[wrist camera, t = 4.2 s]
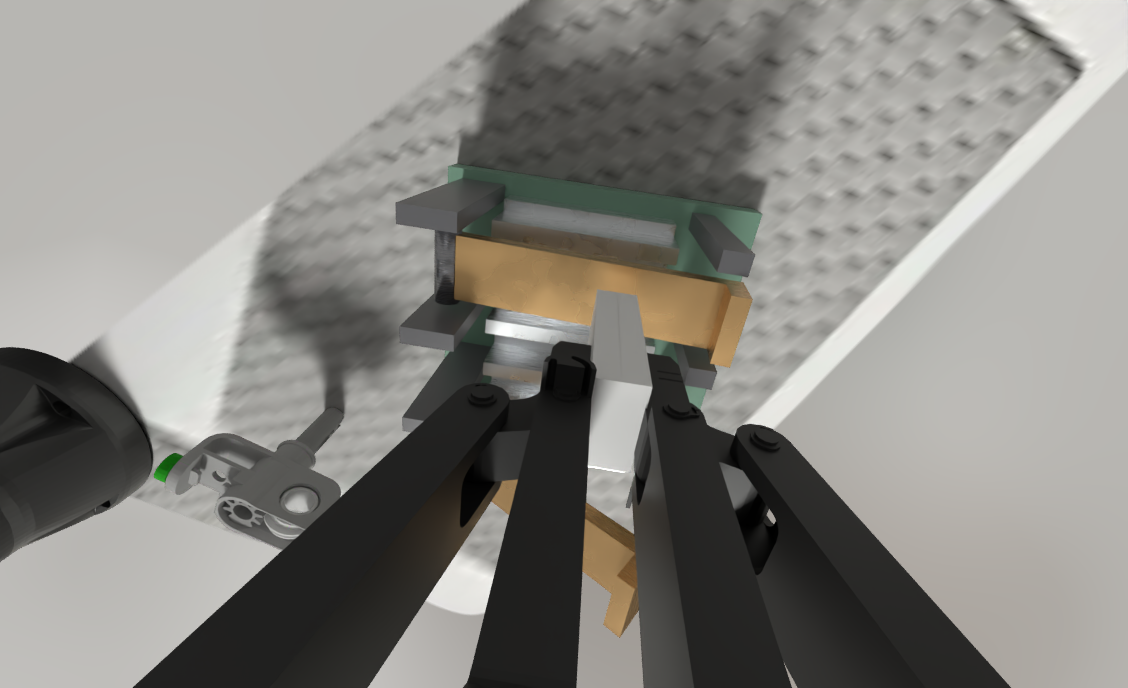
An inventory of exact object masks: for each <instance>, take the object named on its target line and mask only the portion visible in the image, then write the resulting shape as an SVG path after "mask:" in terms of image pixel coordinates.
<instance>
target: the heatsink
mask: <svg viewBox="0 0 1128 688" xmlns="http://www.w3.org/2000/svg"><path fill="white" fill-rule="evenodd" d="M675 230H676V224H675V222H674V220H670V219H663V218H657V217H650V216H644V215H637V214H631V213H624V212H618V211H611V210H605V209H598V208H592V207H585V206H579V205H572V204H566V203H559V202H553V201H546V200H540V199H533V198H527V197H520V196H514V195H509V196H508V197H507V198H505V199H504V211H503V212H501V213H500V214H499V215H498V216H496V217H495V218H494V219H493V220H492V228H491V237H497V238H502V239H506V240H511V241H517V242H522V243H528V244H533V245H539V246H545V247H550V248H556V249H561V250H567V251H572V252H578V253H583V254H589V255H594V256H600V257H606V258H611V259H617V260H622V261H628V262H633V263H639V264H644V265H650V266H655V267H661V268H667V264H668V265H675V266H676V263H677V259H678V255H679V251H680V249H679V247H678V245H677V243H676V241H675V239H674V234H675ZM590 328H591V326H588V325H583V324H577V323H572V322H567V321H562V320H557V319H552V318H547V317H542V316H537V315H532V314H527V313H522V312H517V311H512V310H506V309H501V308H496V307H494V308H493V309H492V311H491V312H490V314H489V315H488V317H487V318H486V327H485V333H489V334H495V337H494V344H493V346H492V347H491V349H490V351H489V353H488V355H487V356H486V358H485V360H484V362H483V375H488V376H492V379H491V382H490V384H493V385H496V386H498V387H501V388H503V389H504V390H505V391H506V392H507V393H508V395H509V398H510V400H517V399H525V398H529V397H532V396H534V395H536V394H538V393H539V392H540V386H541V378H542V371H543V363H544V360H545V359H546V358H547V357H548V356H550V355H551V352H552V348H553V346H554V345H556V344H557V343H558V342H560V341H567V342H573V343H579V344H586V345H588V339H589V334H590ZM644 339H645V345H646V351H647V353H651V354H654V351H655V341H654V339H653V338H648V337H644ZM588 467H593V466H588ZM593 468H599V467H593ZM599 469H605V468H599ZM605 470H610V471H616V472H622V473H624V471H618V470H612V469H605Z"/></svg>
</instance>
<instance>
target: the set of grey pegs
mask: <svg viewBox="0 0 1128 688" xmlns="http://www.w3.org/2000/svg"><path fill="white" fill-rule="evenodd" d="M505 186H506V185H505V184H498V183H492V182H485V181H479V180H472V179H466V178H461V179H458V180H456V181H453V182H450V183H448V184H445V185H442V186H440V187H437V188H434V189H431V190H429V191H426V192H423V193H421V194H418V195H415V196H413V197H410V198H407V199H405V200H402V201H399V202H396V224H400V225H406V226H413V227H419V228H425V229H432V230H438V231H444V232H451V233H458V232H460V231H461V230H462V229H464V228H465V227H467V226H468V225H469V224H471V223H472V222H474V221H475V220H477V219H478V218H479V217H481V216H482V215H484V214H485V213H486V212H488V211H489V210H491V209H492V208H493V207H495V206H496V205H498V204H499V203H501V202H502V201H503V200H504V199H505ZM688 229H689V231H690V232H691V234H692V235H693V237H694V238H695V240H696V241H697V243H698V244H699V246H700V247H701V249H702V250H703V252H704V253H705V255H706V256H707V258H708V259H709V261H710V262H711V264H712V265H713V267H714V268H715V270H716V271H717V272H718V273H725V274H731V275H737V276H744V277H748V276H749V273H750V269H751V266H752V263H753V260H754V257H755V254H754V253H753V252H752V251H751V250H750V249H749V248H748V247H747V246H746V245H745V244H744V243H743V242H742V241H741V240H740V239H738V238H737V237H736V236H735V235H734V234H733V233H732V232H731V231H730V230H729V229H728V228H727V227H726V226H725V225H724V224H723V223H722V222H721V221H720V220H719V219H718V218H717V217H716V216H713V215H707V214H700V213H693V212H692V216H691V220H690V224H689V228H688ZM485 306H486V305H481V304H476V303H471V302H466V301H461V300H460V302H459V303H458V304H455V305H442V304H438V303H436V302H435V300H434V294H433V295H432V296H431V297H430V298H429V299H428V300H427V301H426V302H425V303H424V304H422V305H421V306H420V307H419V308H418V309H417V310H416V311H415V312H414V313H413V314H412V315H411V316H410V317H409V318H408V319H407V320H406V321H405V322H403V323H402V324H401V325H400V326H399V329H400V343H404V344H410V345H416V346H422V347H428V348H434V349H440V350H446V351H450V352H449V353H448V355H447V356H446V357H445V359H444V360H443V361H442V363H441V364H440V366H439V367H438V368H437V370H436V371H435V373H434V374H433V375H432V377H431V378H430V380H429V381H428V382H427V384H426V385H425V386H424V388H423V389H422V391H421V392H420V393H419V395H418V396H417V398H416V399H415V400H414V402H413V403H412V404H411V406H410V407H409V409H408V410H407V411H406V413H405V414H404V416H403V417H402V425H403V431H407V432H412V431H413V430H414V429H416V428H417V427H418V426H419V425H420V424H421V423H422V422H423V421H424V420H425V419H427V418H428V417H429V416H430V415H431V414H432V413H433V412H434V411H435V410H436V409H437V408H439V407H440V406H441V405H442V404H443V403H444V402H445V401H446V400H447V399H448V398H449V397H451V396H452V395H453V394H454V393H455V392H456V391H457V390H458V389H460V388H462V387H463V386H465V385H469V384H473V383H480V382H481V380H482V379H483V377H484V375H483V362H484V360H485V358H486V356H487V355H488V353H489V351H490V349H491V346H485V345H479V344H473V343H467V342H461V340H462V339H463V338H464V336H465V335H466V333H467V332H468V330H469V329H470V328H471V326H472V325H473V323H474V322H475V321H476V319H477V318H478V316H479V315H480V313H481V312H482V311H483V309H484V308H485ZM673 344H674V348H675V352H676V356H677V360H678V363H679V367H680V371H681V375H682V378H683V383H684V385H685V386H691V387H697V388H703V389H709V390H712V386H713V383H714V380H715V377H716V374H717V371H716V368H715V366H714V364H710V361H709V356H708V352H707V349H704V348H699V347H694V346H689V345H684V344H679V343H674V342H673ZM634 473H635V458H634Z"/></svg>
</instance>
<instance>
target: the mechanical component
mask: <svg viewBox="0 0 1128 688" xmlns="http://www.w3.org/2000/svg"><path fill="white" fill-rule="evenodd" d="M342 419H343V413H342V412H341V411H340V410H338V409H336V408H328V409H327V410H326V411H324V412H323V413H322V414H321V415H320V416H319V417H318V418H317V419H316V420H315V421H314V422H313V423H312V424H311V425H310V426H309V427H308V428H307V429H306V430H305V431H304V432H303V433H302V434H301V435H300V436H299V437H298V438H297V439H296V440H287V441H284V442H282V443H281V444H280V445H279V446H278V448H277V451H276V452H275V453H274V452H272V451H270V450H268V449H266V448H264V447H261V446H259V445H257V444H255V443H253V442H251V441H249V440H246V439H244V438H242V437H240V436H237V435H234V434H228V433H221V434H216V435H212V436H210V437H208V438H206V439H205V440H203V441H202V442H201V443H200V444H198V445H197V446H196V447H194V448H193V449H192V450H191V451H189V452H188V453H187V454H185V455H184V456H182V455H180V454H177V453H173V454H171V455H170V456H168V457H167V458H166V459H164V460H163V461H162V463H161V464H160V465H159V466H158V468H157V469H156V471H155V473H154V478H156V479H158V480H160V481H162V482H165V489H166V490H168V491H170V492H172V493H174V494H177V495H180V494H182V493H184V492H186V491H187V490H189V489H190V488H191V487H192V486H196V485H197V484H198V483H200V484H202V485H204V486H206V487H209V488H211V489H213V490H215V491H218V492H220V493H219V496H220V498H219V499H218V500H217V503H216V506H215V510H214V513H215V515H216V517H217V519H218V520H219V521H220V522H221V523H222V524H223V525H224V526H226V527H227V528H228V529H230V530H232V531H234V532H236V533H239V534H243V535H247V536H249V537H252V538H254V539H256V540H258V541H261V542H263V543H265V544H268V545H270V546H272V547H275V548H277V549H279V550H281V551H282V550H283V549H285V548H286V547H287V546H288V545H289V544H290V543H291V542H292V541H293V540H294V539H295V538H297V537H298V536H299V535H300V534H301V533H302V532H303V531H304V530H305V529H306V528H307V527H309V526H310V525H311V524H312V523H313V522H314V521H315V520H316V519H317V518H318V517H319V516H321V515H322V514H323V513H324V512H325V511H326V510H327V509H328V508H329V507H330V506H332V505H333V504H334V503H335V502H336V501H337V500H338V499H339V498H340V495H341V490H340V487H339V485H338V484H337V483H336V482H335V481H334V480H332V479H330V478H328V477H326V476H324V475H322V474H320V473H317V472H315V471H313V470H311V469H312V468H313V467H314V465H315V462H316V459H315V455H314V454H315V453H316V452H317V451H318V450H319V448H320V447H321V446H322V445H323V444H324V443H325V442H326V441H327V440H328V438H329V437H330V436H331V435H332V434H333V433H334V432H335V431H336V430H337V429H338V427H339V426H340V424H339V423H340V422H341V421H342ZM216 471H219V472H221V473H223V474H224V475H225V477H226V478H221V477H220V476H218V474H217V473H216ZM290 510H297V511H300V512H302V513H294V512H292V511H290Z"/></svg>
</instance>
